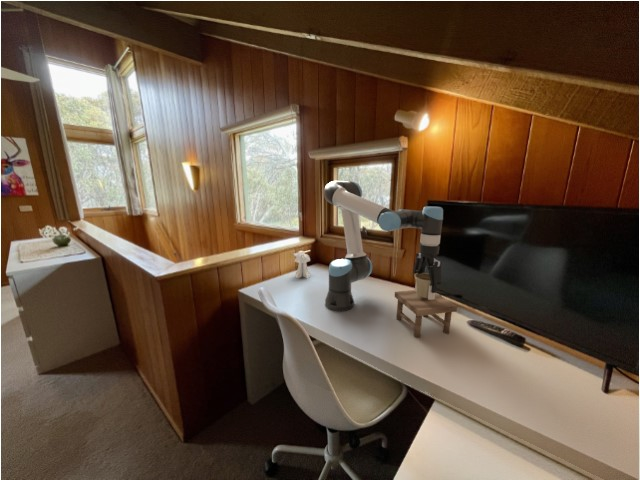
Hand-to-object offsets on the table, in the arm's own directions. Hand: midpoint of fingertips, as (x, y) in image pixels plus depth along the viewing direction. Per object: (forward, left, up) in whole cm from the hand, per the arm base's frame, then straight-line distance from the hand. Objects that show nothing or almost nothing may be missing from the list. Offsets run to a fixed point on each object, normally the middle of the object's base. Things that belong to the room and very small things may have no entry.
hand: (424, 294), depth 107 cm
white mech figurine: (-74, -42, -15) cm, 86 cm away
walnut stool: (0, 0, -15) cm, 15 cm away
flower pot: (0, 0, -1) cm, 1 cm away
